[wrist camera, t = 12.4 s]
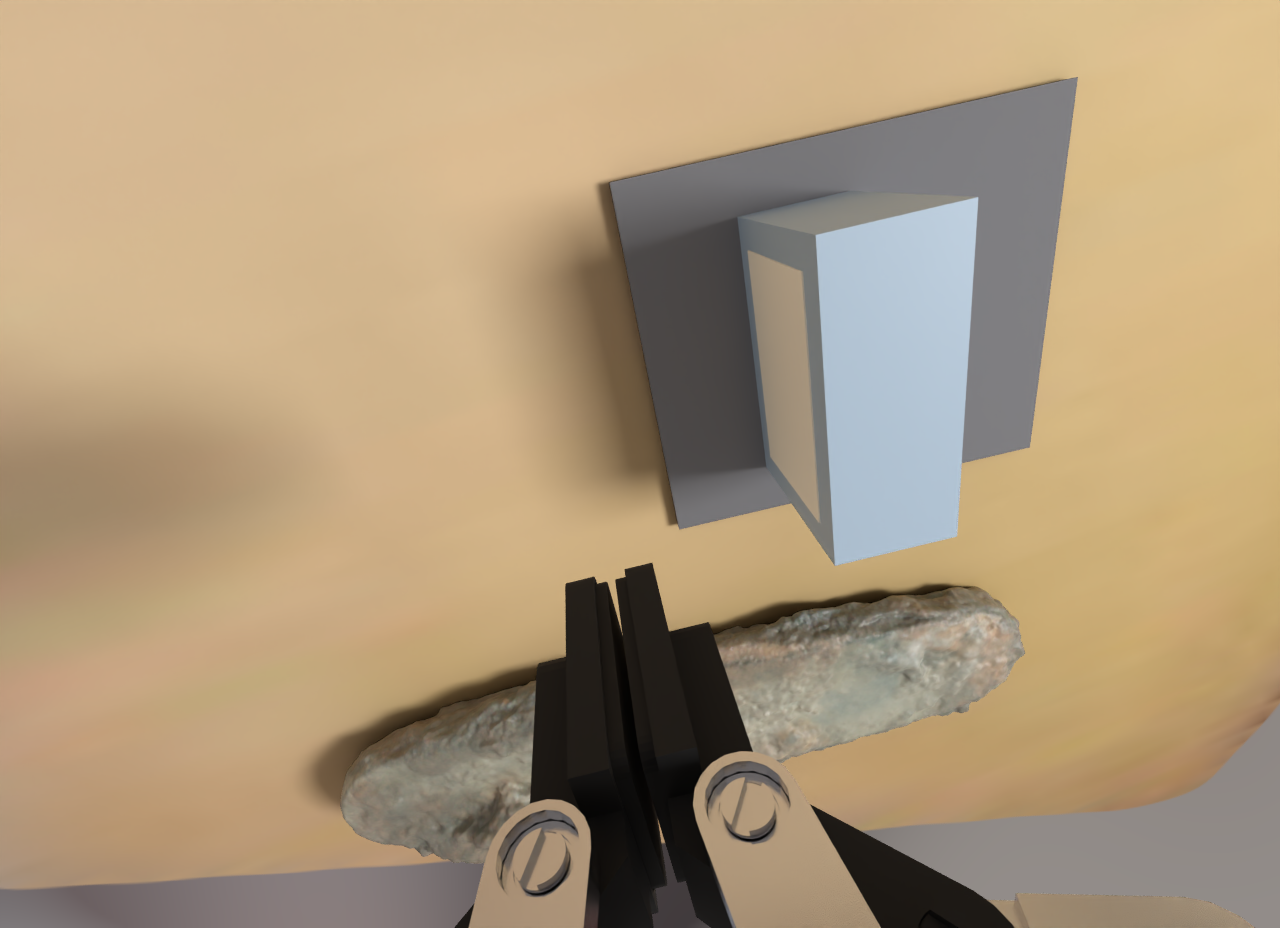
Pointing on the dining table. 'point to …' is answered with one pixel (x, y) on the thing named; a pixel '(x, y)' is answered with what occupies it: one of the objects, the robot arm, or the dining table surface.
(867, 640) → the elongated rough stone
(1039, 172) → the mat
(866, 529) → the pale blue upright box
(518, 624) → the dining table surface
